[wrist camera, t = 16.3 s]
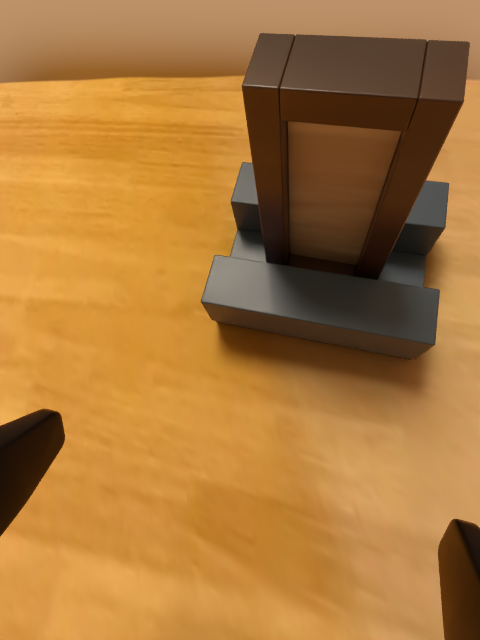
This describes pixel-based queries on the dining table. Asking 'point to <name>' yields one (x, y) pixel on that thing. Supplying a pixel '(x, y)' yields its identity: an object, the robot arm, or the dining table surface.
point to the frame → (346, 141)
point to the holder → (331, 285)
